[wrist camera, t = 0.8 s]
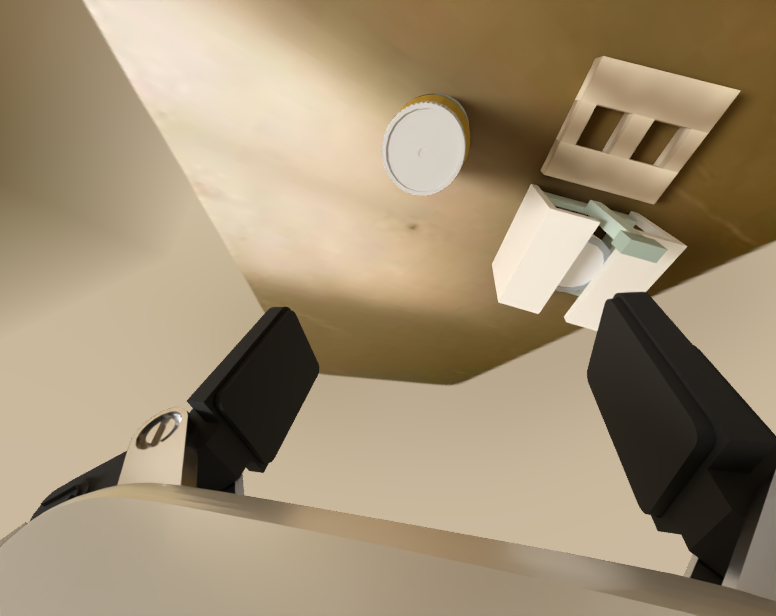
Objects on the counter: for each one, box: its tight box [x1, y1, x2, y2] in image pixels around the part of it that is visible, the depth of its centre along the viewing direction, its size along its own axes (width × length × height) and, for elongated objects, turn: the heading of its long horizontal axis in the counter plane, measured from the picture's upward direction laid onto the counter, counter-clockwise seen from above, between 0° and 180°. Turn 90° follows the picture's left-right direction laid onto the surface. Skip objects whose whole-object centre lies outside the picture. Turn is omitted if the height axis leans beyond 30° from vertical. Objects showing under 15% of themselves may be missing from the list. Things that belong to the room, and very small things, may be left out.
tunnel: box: [492, 184, 687, 331], centre depth 34 cm, size 11×13×10 cm
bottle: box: [382, 94, 471, 196], centre depth 28 cm, size 7×7×15 cm
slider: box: [543, 191, 668, 296], centre depth 31 cm, size 11×10×14 cm
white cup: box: [555, 234, 610, 292], centre depth 35 cm, size 7×7×7 cm
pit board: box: [540, 56, 740, 204], centre depth 30 cm, size 10×12×2 cm
